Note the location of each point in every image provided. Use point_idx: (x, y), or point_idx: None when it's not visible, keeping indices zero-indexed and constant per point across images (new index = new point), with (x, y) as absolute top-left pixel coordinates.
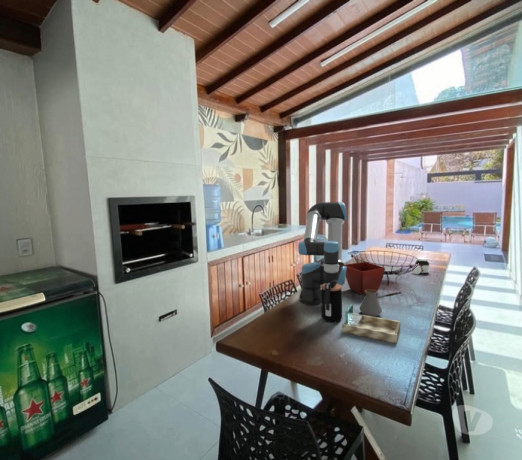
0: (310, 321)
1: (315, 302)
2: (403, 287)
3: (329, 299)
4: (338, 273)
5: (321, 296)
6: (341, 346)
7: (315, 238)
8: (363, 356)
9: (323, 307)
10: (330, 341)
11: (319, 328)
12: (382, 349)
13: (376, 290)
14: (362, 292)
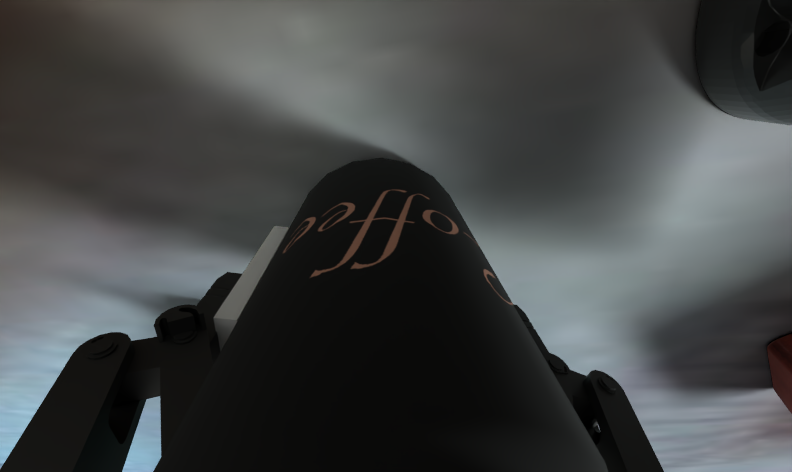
0: (259, 56)
1: (720, 37)
2: (776, 446)
3: (116, 456)
4: None
5: (304, 301)
6: (35, 312)
7: None
8: (35, 383)
9: (288, 237)
10: (36, 259)
11: (167, 165)
12: (154, 420)
13: (781, 398)
14: (781, 358)
